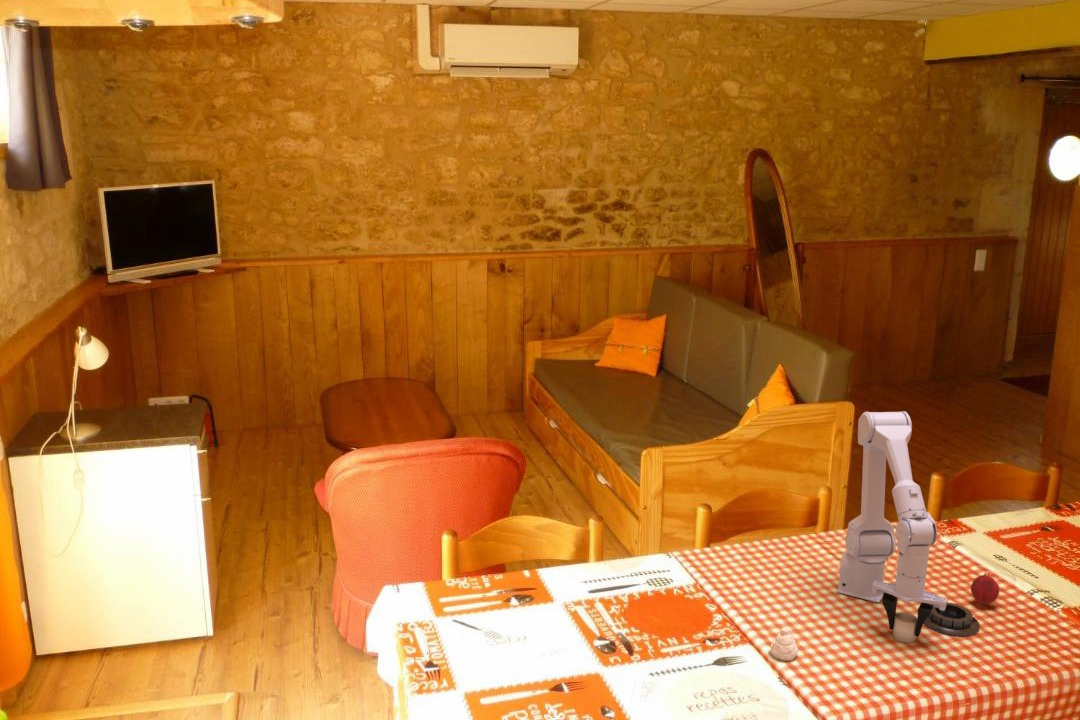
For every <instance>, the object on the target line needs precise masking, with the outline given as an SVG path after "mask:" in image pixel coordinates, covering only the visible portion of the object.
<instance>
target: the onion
mask: <svg viewBox="0 0 1080 720" xmlns="http://www.w3.org/2000/svg"><path fill="white" fill-rule="evenodd" d="M990 574H991V572H989V571H988V570H986V571H985V572H984V573H983V574H982V575H980V576H977V577H976V578H975V579H974V580H973V581H972V583H971V586H970V593H971V594H972V596H973V598H974V599H975V600H976V601H977V602H978V603H979V604H980V605H982V606H983V605H984V606H985V605H988V604H991V603H993V602H994V601H996V599H998V597H999V594H1000V587H999V584H998V582H997V581H996V579H995V578H994V577H992V576H990Z"/></svg>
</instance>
